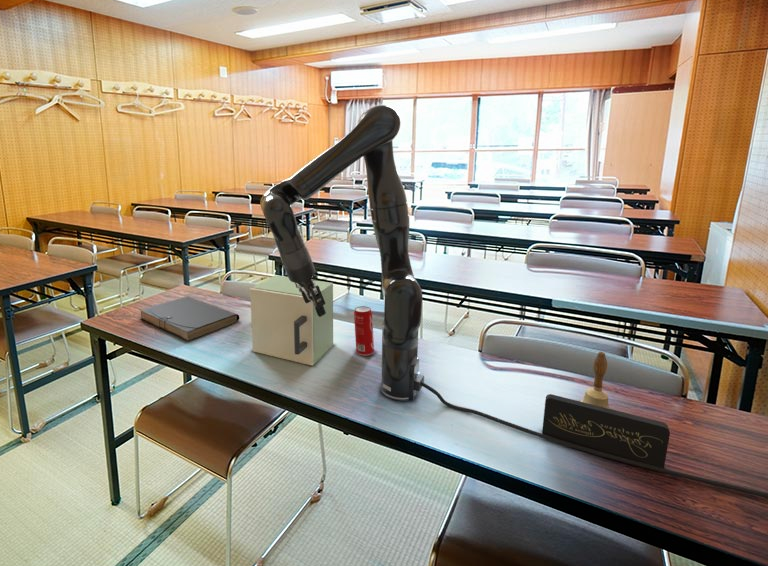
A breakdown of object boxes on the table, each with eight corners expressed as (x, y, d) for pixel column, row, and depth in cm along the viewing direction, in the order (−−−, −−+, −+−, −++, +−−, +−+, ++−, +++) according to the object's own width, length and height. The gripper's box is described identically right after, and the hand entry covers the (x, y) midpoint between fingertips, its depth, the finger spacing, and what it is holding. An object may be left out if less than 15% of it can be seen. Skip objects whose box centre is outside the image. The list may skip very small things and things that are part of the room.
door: (303, 374, 126) (302, 304, 122) (242, 358, 136) (239, 294, 132) (313, 364, 132) (312, 297, 127) (254, 350, 142) (251, 287, 138)
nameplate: (661, 467, 87) (669, 423, 85) (663, 473, 85) (670, 428, 83) (542, 432, 98) (546, 392, 96) (541, 436, 97) (545, 396, 95)
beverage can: (374, 357, 136) (374, 312, 133) (353, 355, 137) (353, 311, 134) (374, 348, 141) (374, 305, 138) (354, 347, 143) (354, 304, 140)
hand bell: (617, 427, 99) (626, 364, 96) (574, 416, 103) (581, 355, 100) (613, 408, 106) (622, 349, 103) (573, 399, 110) (580, 342, 107)
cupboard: (314, 364, 132) (313, 296, 128) (254, 350, 142) (251, 287, 138) (333, 345, 145) (333, 282, 140) (277, 333, 155) (275, 275, 151)
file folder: (139, 309, 171) (190, 294, 189) (140, 319, 172) (190, 303, 189) (186, 331, 149) (239, 312, 167) (187, 342, 150) (239, 322, 167)
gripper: (321, 263, 107) (338, 313, 114) (298, 246, 120) (315, 291, 127) (295, 277, 106) (315, 326, 113) (275, 258, 118) (293, 303, 125)
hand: (315, 308), depth 120 cm, fingers open, 8 cm apart
